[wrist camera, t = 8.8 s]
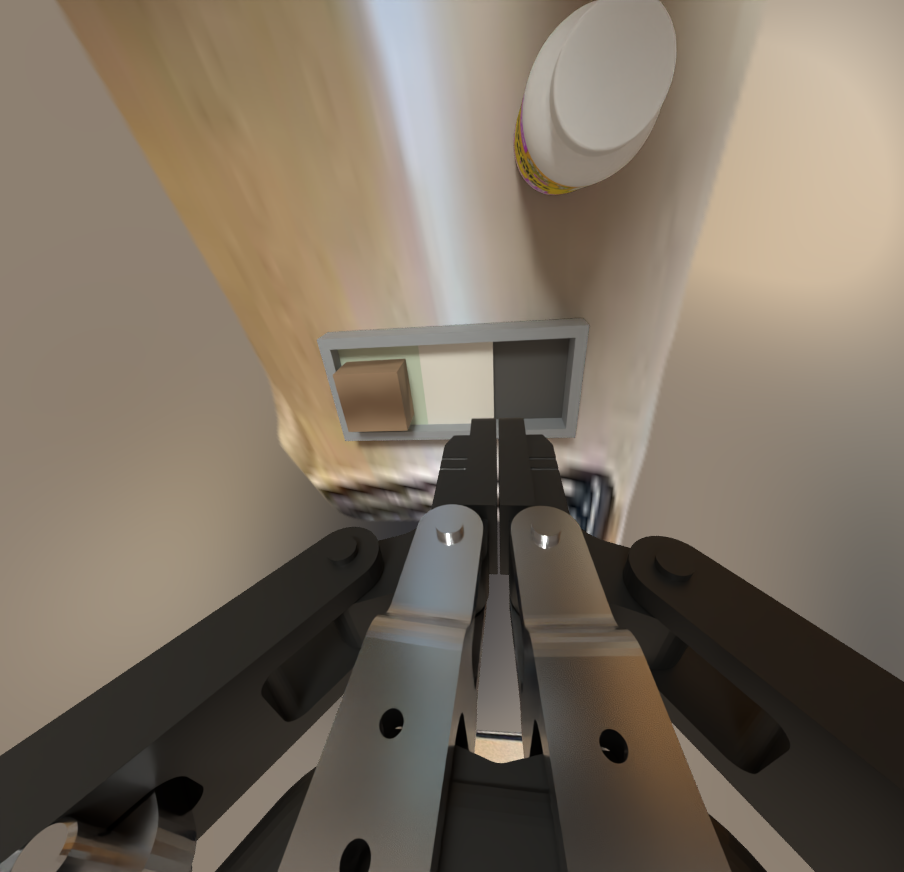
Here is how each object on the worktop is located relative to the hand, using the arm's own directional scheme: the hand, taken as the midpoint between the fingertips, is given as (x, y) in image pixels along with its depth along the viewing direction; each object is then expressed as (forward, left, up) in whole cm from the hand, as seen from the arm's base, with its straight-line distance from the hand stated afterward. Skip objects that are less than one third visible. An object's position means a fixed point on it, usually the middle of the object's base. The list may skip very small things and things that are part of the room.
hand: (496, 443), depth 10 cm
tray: (+8, -4, -24) cm, 25 cm away
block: (+8, -12, -23) cm, 27 cm away
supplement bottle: (-10, +5, -24) cm, 27 cm away
